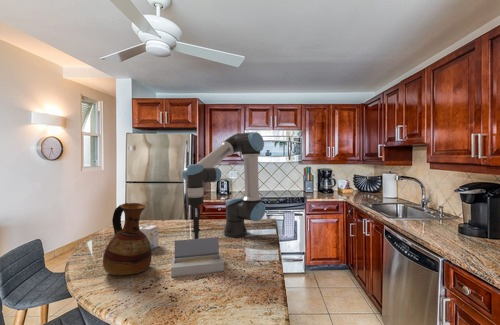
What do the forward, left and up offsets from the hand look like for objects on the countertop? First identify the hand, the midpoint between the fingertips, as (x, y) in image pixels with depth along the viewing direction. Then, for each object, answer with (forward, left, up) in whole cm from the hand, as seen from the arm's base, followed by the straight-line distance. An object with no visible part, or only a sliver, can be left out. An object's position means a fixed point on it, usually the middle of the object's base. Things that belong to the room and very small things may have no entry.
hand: (196, 244), depth 131 cm
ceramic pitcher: (+30, +4, -8) cm, 31 cm away
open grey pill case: (0, +9, -8) cm, 12 cm away
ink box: (+26, -27, -8) cm, 38 cm away
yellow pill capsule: (0, +9, -6) cm, 11 cm away
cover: (0, +6, +1) cm, 6 cm away
